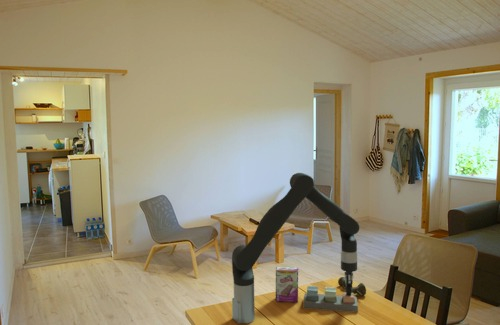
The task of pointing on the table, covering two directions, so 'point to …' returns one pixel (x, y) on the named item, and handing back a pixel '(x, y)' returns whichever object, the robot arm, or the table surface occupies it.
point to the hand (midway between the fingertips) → (348, 294)
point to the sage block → (330, 294)
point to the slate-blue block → (312, 293)
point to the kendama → (356, 290)
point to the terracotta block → (348, 298)
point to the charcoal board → (330, 304)
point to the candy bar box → (286, 284)
